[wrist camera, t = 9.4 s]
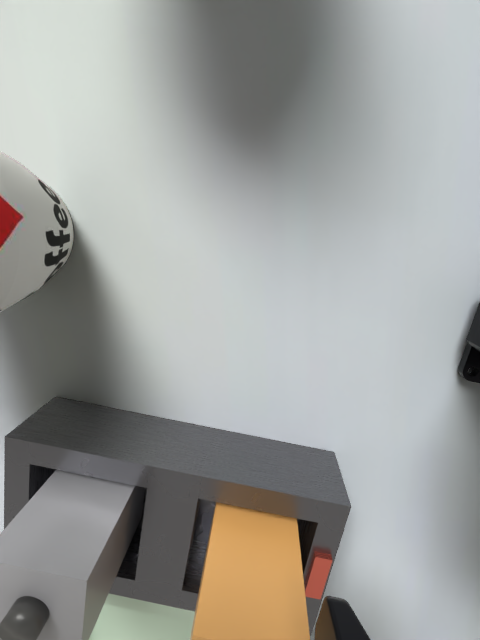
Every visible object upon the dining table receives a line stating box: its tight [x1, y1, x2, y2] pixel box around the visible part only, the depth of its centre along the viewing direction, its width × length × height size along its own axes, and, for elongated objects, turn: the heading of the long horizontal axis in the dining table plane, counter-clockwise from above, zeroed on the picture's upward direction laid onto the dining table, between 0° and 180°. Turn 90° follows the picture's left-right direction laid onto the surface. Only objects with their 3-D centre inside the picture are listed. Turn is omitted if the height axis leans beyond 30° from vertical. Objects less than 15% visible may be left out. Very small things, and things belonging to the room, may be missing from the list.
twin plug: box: [0, 470, 145, 640], centre depth 16 cm, size 4×4×8 cm
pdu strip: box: [4, 397, 351, 636], centre depth 19 cm, size 16×8×4 cm, turn 80°
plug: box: [190, 502, 310, 640], centre depth 16 cm, size 4×4×9 cm
